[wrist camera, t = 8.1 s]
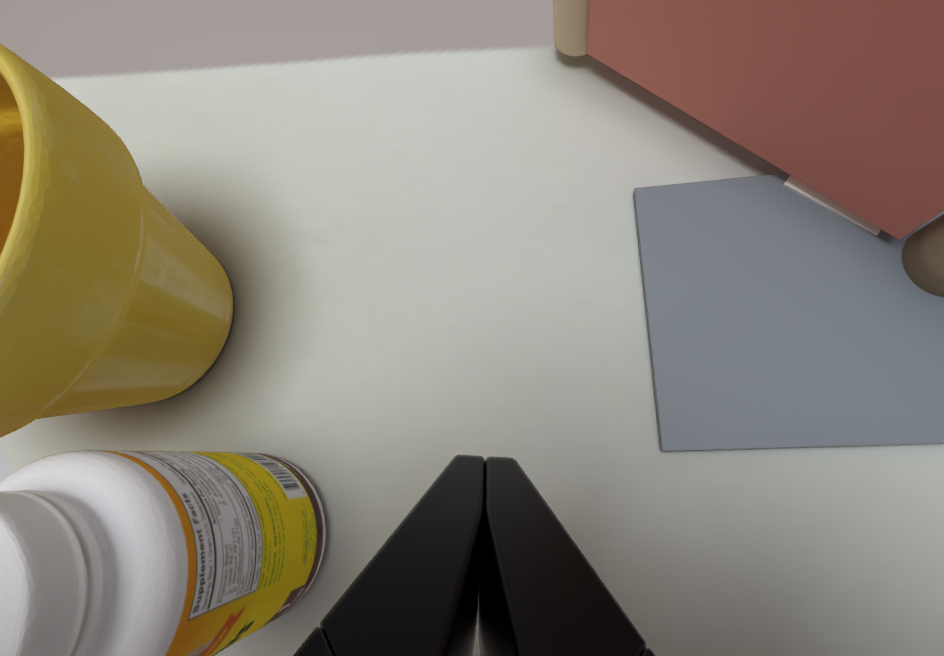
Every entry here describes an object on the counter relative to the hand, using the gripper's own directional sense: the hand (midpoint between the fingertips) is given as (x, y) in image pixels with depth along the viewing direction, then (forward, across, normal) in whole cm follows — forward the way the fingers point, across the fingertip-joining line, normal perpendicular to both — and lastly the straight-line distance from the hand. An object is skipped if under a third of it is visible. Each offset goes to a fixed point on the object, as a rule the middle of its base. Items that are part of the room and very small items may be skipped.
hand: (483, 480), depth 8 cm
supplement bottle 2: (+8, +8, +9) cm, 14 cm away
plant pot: (+13, +13, +4) cm, 19 cm away
